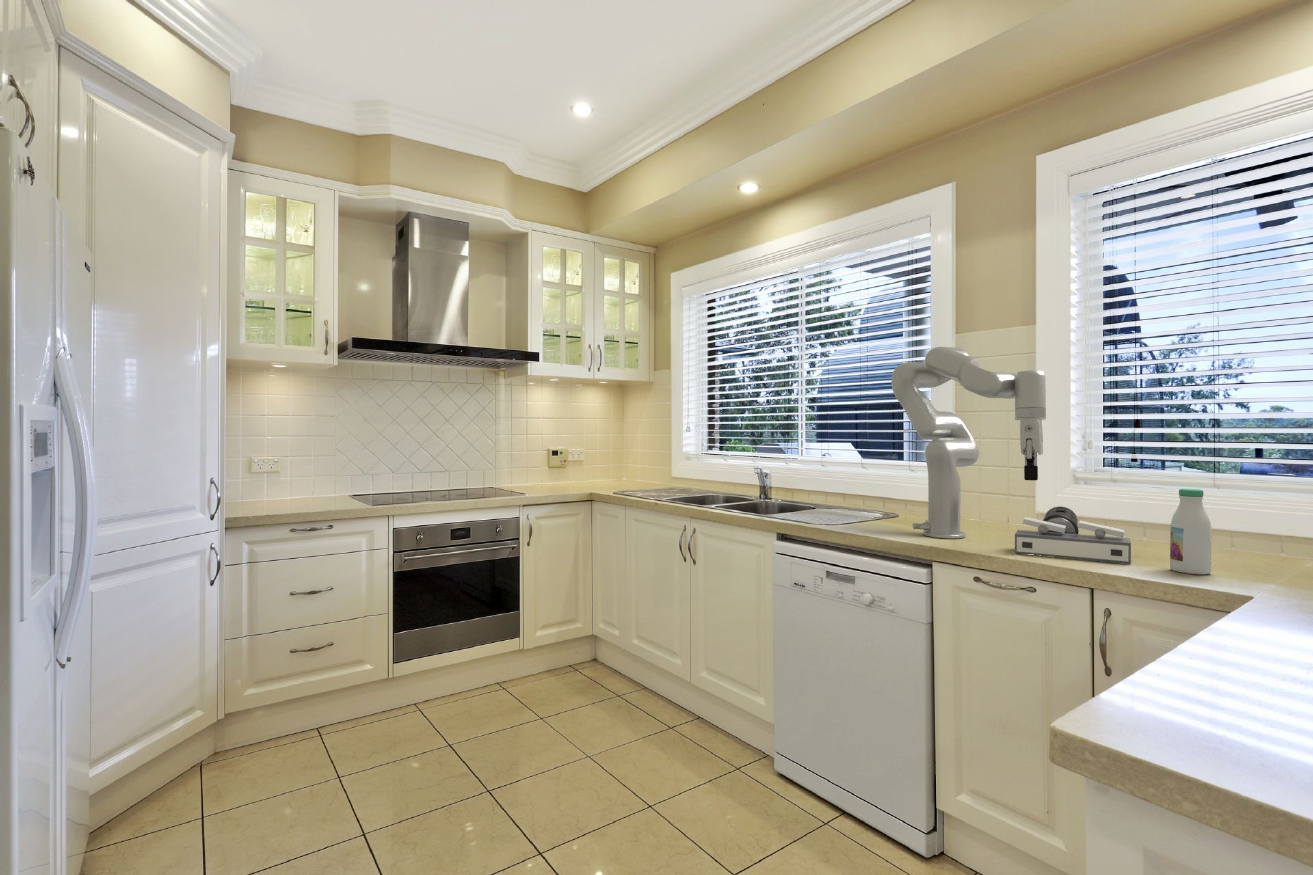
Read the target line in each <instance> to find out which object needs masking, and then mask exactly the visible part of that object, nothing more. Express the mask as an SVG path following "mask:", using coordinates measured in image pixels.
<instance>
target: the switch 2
mask: <svg viewBox="0 0 1313 875" xmlns="http://www.w3.org/2000/svg"><path fill="white" fill-rule="evenodd" d="M1078 529H1082V530H1087V531H1092V532H1094V535H1095V536H1096V537H1098V538H1103V537H1104V536H1106V535H1110V536H1112V537H1122V538H1124V535H1125V530H1124V529H1121V528H1116V527H1112V526H1106V525H1102V524H1099V523H1098V524H1097V523H1094V522H1089V521H1084V520H1079V522H1078Z"/></svg>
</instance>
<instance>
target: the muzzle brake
mask: <svg viewBox="0 0 1313 875" xmlns="http://www.w3.org/2000/svg"><path fill="white" fill-rule="evenodd" d="M1042 521H1046V522H1051V523H1055V524H1060V525H1064V526H1066V528H1065V532H1064V533H1069V534H1079V531H1080V530H1079V528H1078V525H1079V522H1078V517H1077V514H1076V513H1075V512H1074V511H1073V509H1071V508H1068V507H1065V506H1060V505H1059V506H1053V507H1052V508H1050V509H1049V510H1048V511H1047V512H1046V513H1045V515H1044V517H1043V519H1042ZM1047 532H1055V533H1061V532H1057V531H1052V530H1048V531H1047Z"/></svg>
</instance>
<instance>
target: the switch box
mask: <svg viewBox="0 0 1313 875" xmlns="http://www.w3.org/2000/svg"><path fill="white" fill-rule="evenodd" d="M1015 553H1019V554H1018V555H1023V554H1034V555H1041V556H1040V557H1044V556H1054V557H1053V558H1055V557H1059V558H1058V559H1065V558H1066V559H1067V560H1068V559H1069V560H1076V559H1081V560H1080V561H1087V560H1089V561H1090V562H1097V561H1102V562H1101V563H1108V562H1109V563H1110V564H1119V563H1123V564H1122V565H1129V564H1131V565H1132V561H1131V560H1132V542H1131V538H1130V537H1118V536H1106V535H1105V536H1104V537H1103V538H1098V537H1096V536H1095V534H1094V535H1093V534H1092V535H1091V534H1079V533H1078V534H1069V533H1055V532H1046V533H1040V532H1039V531H1038V530H1029V529H1027V530H1026V529H1017V531H1015V533H1014V554H1015Z"/></svg>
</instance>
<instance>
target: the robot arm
mask: <svg viewBox="0 0 1313 875" xmlns="http://www.w3.org/2000/svg"><path fill="white" fill-rule="evenodd" d="M951 380H953V381H955V382H957V383H959V384H960V386H961V387H962V388H963V389H964V390H967V391H969V392H971V393H974V394H975V395H978V396H981V397H982V398H988V399H1008V400H1009V399H1010V400H1011V399H1014V421H1019V442H1020V443H1019V444H1020V453H1021V454H1022V455H1023V456H1024V465H1023V467H1024V468H1023V470H1024V471H1023V476H1024V477H1023V478H1024V481H1038V480H1039V474H1038V473H1039V466H1038V456H1041V455H1043V454H1044V445H1043V444H1044V440H1043V438H1044V437H1043V434H1044V433H1043V421H1044V420H1047V407H1046V406H1047V403H1046V402H1047V401H1046V397H1047V396H1046V392H1047V390H1046V374H1045V372H1044V371H1043V370H1039V369H1038V370H1036V369H1035V370H1034V369H1029V370H1028V369H1027V370H1021V371H1017V372H1004V371H1003V372H1002V371H989V370H986V369H984V368H982V367H980V364H979V361H978V360H977V359H976V358H975V357H973V356H970V355H969V353H968V352H967V350H966V349H963V348H961V347H952V346H936V347H933V348H931V349H930V350H929V351H928V352H927V353H926V355H925V357H924V362H918V361H916V362H914V361H909V362H908V361H907V362H904V363H900V364H899V365H897V366H896V367H895V368H894V370H893V371H892V375H891V382H890V383H891V390H892V393H893V395H894V396H895V399H896V400H897V401H898V403H899V404H900V405H901V407H902V409H903V410H904V412H905V413H906V415H907V417H908V419H909V421H910V422H911V424H912V426H913V428H914V429H915V432H916V433H917V434H918V436H919V437H920V438H921V439H924V440H928V441H930V442H928V444H927V445H926V447H925V450H924V458H925V462H926V467H927V480H928V482H927V484H928V485H927V487H928V488H927V489H928V490H927V491H928V496H927V498H928V499H927V500H928V501H927V502H928V507H927V509H928V511H927V513H928V514H927V515H928V518H927V519H928V520H927V519H926V520H925V521H923V522H922V523H919V522H913V523H912V529H913V530H922V534H923V535H924V536H926V537H931V538H937V539H949V540H950V539H952V540H954V539H964V538H965V537H967V536H966V535H967V534H966V532H964V531H961V477H960V475H959V472H958V470H957V468H961V467H962V468H964V467H969V466H973V465H974V464H975V463H976V462H977V461H978V459H979V455H980V450H979V446H978V444H977V442H976V440H975V439H974V437H973V435H972V434H971V432H970V431H969V429H968V427H967V425H966V424H965V422H964V420H962V418H961V417H960V416H959V415H958V414H957V413H955V412H952V411H940V410H937V409H936V408H935V407H934V405H933V404H932V402H931V400H930V398H929V397H928V396H927V395H926V394H925V393H924V392H922V391H921V390H920V389H919V388H929V389H931V388H932V389H933V388H936V387H939V386H941V385H944V384H945V383H948V382H949V381H951Z"/></svg>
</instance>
